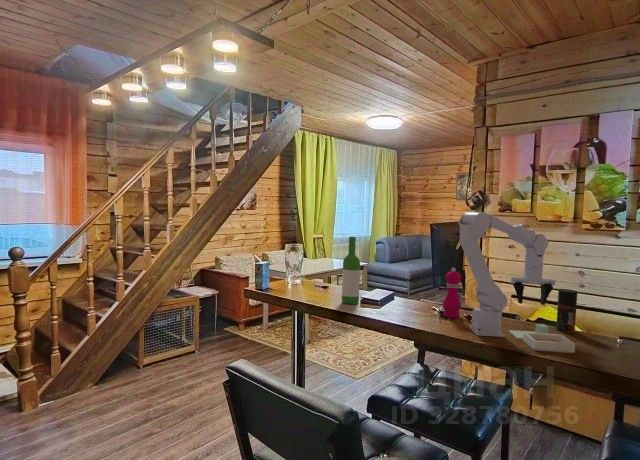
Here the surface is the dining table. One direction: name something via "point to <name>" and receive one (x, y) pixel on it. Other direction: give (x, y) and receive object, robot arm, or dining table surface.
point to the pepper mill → (452, 295)
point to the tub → (549, 342)
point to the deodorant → (566, 310)
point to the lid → (539, 329)
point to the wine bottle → (351, 275)
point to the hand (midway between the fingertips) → (531, 303)
